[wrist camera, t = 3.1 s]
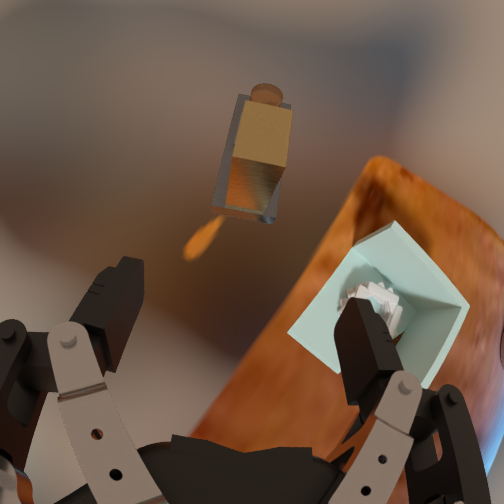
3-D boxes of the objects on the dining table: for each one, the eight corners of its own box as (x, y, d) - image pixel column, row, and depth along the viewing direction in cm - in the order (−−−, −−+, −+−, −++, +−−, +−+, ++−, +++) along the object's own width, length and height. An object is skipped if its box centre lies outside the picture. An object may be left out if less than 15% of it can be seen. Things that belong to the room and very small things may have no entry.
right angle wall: (356, 241, 30) (394, 220, 23) (425, 310, 30) (470, 305, 22) (287, 332, 27) (312, 338, 20) (368, 398, 27) (409, 416, 20)
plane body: (271, 224, 29) (283, 206, 24) (211, 212, 29) (211, 192, 24) (287, 115, 32) (297, 88, 28) (237, 104, 32) (241, 76, 27)
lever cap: (263, 213, 27) (286, 167, 18) (225, 205, 27) (232, 156, 18) (270, 166, 28) (293, 110, 20) (235, 159, 28) (245, 100, 19)
